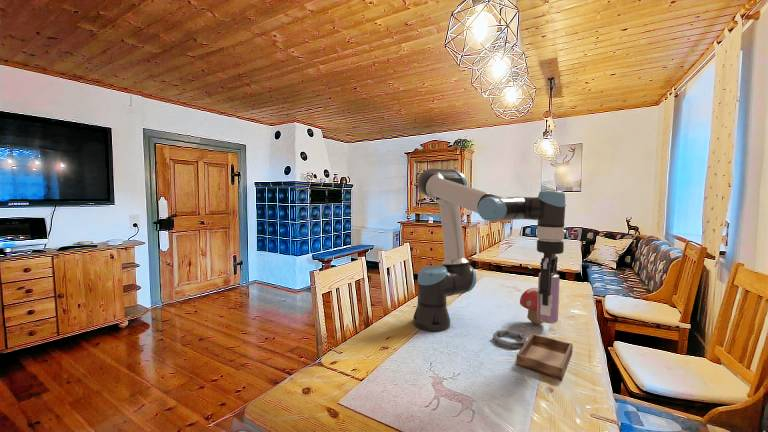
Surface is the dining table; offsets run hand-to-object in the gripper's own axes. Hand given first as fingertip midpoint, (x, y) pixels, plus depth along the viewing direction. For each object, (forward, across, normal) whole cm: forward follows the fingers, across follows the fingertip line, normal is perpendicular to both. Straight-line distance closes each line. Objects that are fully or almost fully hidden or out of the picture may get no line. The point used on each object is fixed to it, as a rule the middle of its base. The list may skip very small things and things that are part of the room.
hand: (547, 311), depth 102 cm
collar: (+16, +6, +13) cm, 21 cm away
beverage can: (+3, 0, 0) cm, 3 cm away
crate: (+16, 0, 0) cm, 16 cm away
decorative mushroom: (+16, +29, +9) cm, 34 cm away
